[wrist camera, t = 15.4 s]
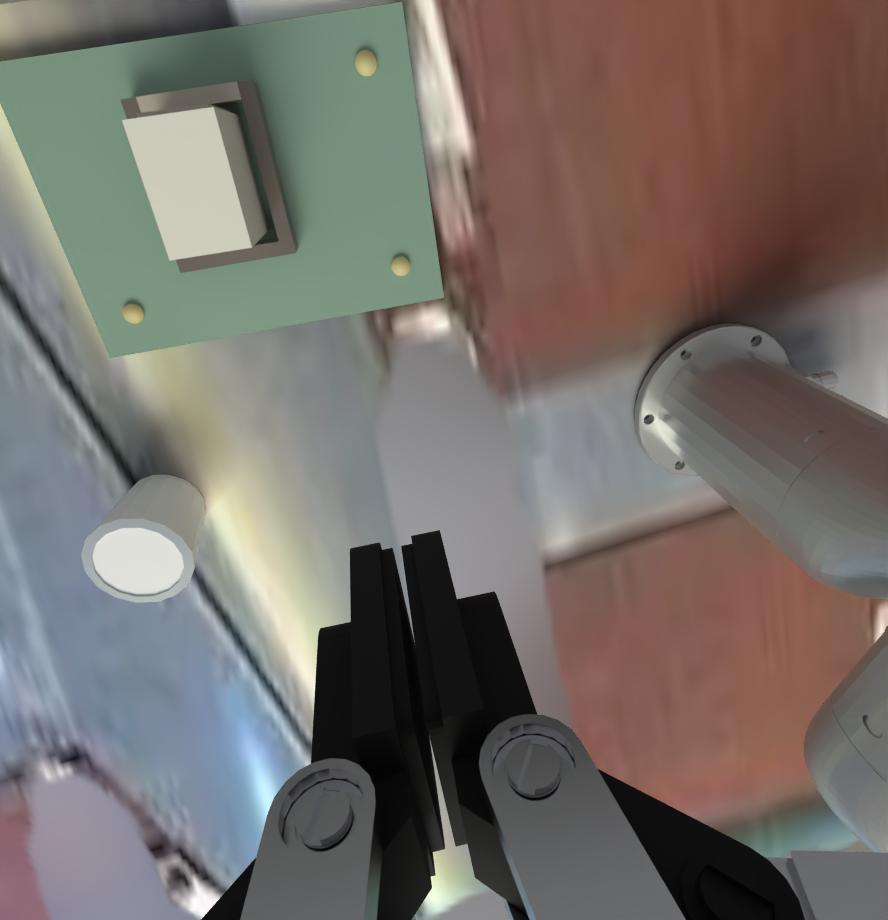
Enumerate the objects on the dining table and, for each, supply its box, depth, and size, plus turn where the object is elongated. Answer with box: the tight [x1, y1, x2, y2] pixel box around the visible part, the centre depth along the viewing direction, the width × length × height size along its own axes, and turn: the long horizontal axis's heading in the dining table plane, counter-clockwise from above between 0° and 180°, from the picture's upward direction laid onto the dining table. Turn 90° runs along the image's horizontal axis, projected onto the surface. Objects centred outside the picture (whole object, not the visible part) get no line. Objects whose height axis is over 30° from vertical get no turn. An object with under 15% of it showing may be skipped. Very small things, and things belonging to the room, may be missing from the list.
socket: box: [120, 79, 298, 273], centre depth 34 cm, size 7×9×2 cm
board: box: [0, 2, 444, 358], centre depth 35 cm, size 22×16×1 cm
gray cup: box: [81, 475, 206, 603], centre depth 42 cm, size 7×7×7 cm
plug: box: [122, 103, 270, 261], centre depth 31 cm, size 4×6×8 cm, turn 8°
